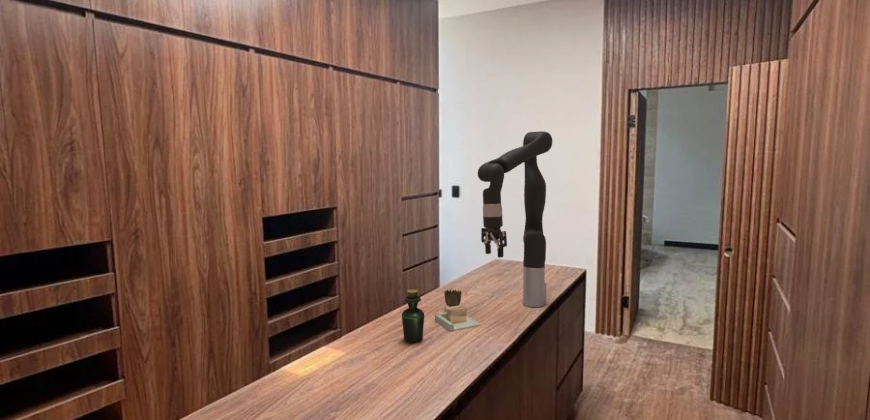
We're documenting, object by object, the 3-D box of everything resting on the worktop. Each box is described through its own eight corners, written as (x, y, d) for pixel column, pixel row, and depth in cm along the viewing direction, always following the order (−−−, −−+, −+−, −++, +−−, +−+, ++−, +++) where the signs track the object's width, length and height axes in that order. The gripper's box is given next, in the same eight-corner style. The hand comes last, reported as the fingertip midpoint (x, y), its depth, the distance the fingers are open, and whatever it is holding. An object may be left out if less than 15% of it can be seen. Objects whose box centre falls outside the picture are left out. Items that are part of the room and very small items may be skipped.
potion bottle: (419, 345, 158) (418, 295, 156) (398, 342, 161) (397, 293, 159) (428, 337, 166) (427, 288, 164) (407, 334, 169) (406, 287, 167)
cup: (460, 313, 191) (460, 294, 190) (442, 312, 192) (442, 293, 191) (462, 307, 198) (462, 289, 197) (446, 306, 200) (445, 288, 199)
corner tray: (464, 315, 189) (464, 309, 188) (481, 325, 177) (481, 319, 177) (434, 320, 183) (434, 314, 183) (450, 331, 171) (450, 324, 171)
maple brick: (446, 321, 180) (446, 307, 180) (461, 318, 183) (461, 305, 183) (450, 324, 177) (450, 310, 176) (466, 321, 180) (466, 307, 179)
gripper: (474, 214, 183) (476, 254, 185) (495, 217, 171) (496, 260, 172) (490, 212, 187) (492, 251, 188) (511, 215, 174) (513, 257, 176)
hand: (494, 255), depth 180 cm, fingers open, 8 cm apart
